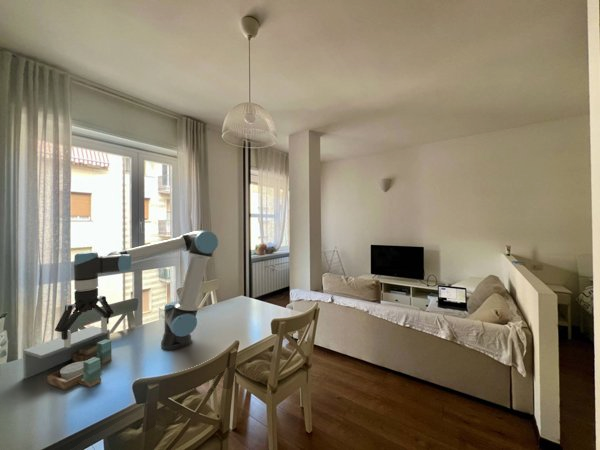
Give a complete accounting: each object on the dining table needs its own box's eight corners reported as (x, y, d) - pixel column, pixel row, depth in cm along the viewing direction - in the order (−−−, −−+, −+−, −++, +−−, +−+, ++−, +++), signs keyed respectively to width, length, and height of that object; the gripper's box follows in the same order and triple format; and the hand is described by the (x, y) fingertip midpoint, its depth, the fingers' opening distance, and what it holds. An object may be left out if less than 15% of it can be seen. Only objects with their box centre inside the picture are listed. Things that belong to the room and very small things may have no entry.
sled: (112, 375, 109) (112, 353, 108) (77, 394, 96) (77, 370, 96) (82, 365, 116) (82, 345, 116) (46, 382, 103) (46, 360, 103)
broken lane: (116, 357, 123) (116, 338, 123) (96, 367, 114) (96, 346, 114) (93, 351, 129) (93, 332, 129) (72, 360, 121) (72, 340, 121)
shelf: (109, 353, 127) (109, 329, 127) (41, 384, 102) (41, 355, 102) (92, 348, 132) (92, 326, 132) (23, 377, 107) (23, 349, 107)
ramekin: (56, 385, 102) (56, 375, 102) (63, 374, 110) (63, 364, 110) (84, 378, 106) (84, 368, 106) (89, 368, 114) (89, 359, 114)
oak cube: (98, 355, 125) (98, 345, 125) (88, 360, 120) (87, 350, 120) (89, 354, 126) (89, 344, 126) (79, 359, 121) (79, 349, 121)
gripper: (111, 281, 117) (111, 326, 117) (42, 296, 93) (42, 352, 94) (122, 282, 115) (122, 328, 115) (54, 298, 91) (55, 355, 91)
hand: (86, 339), depth 104 cm, fingers open, 13 cm apart
